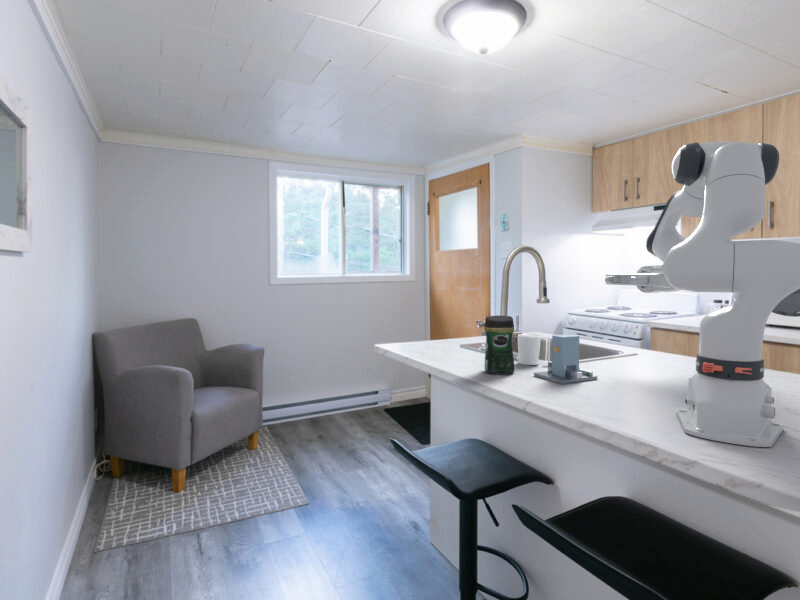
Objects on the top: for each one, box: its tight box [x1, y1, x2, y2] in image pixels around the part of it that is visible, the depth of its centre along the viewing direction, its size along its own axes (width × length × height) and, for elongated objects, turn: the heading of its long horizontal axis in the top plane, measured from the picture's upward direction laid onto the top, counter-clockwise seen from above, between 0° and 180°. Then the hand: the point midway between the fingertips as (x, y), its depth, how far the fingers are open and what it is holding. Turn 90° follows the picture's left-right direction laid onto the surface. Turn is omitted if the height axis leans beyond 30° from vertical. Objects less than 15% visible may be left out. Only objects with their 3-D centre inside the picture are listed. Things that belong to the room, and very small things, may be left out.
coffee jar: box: [483, 314, 516, 375], centre depth 151 cm, size 10×8×19 cm
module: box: [551, 333, 580, 377], centre depth 143 cm, size 4×7×12 cm, turn 114°
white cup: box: [517, 333, 542, 366], centre depth 165 cm, size 8×8×10 cm
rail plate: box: [533, 361, 598, 385], centre depth 143 cm, size 12×14×4 cm
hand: (619, 279), depth 144 cm, fingers open, 8 cm apart
